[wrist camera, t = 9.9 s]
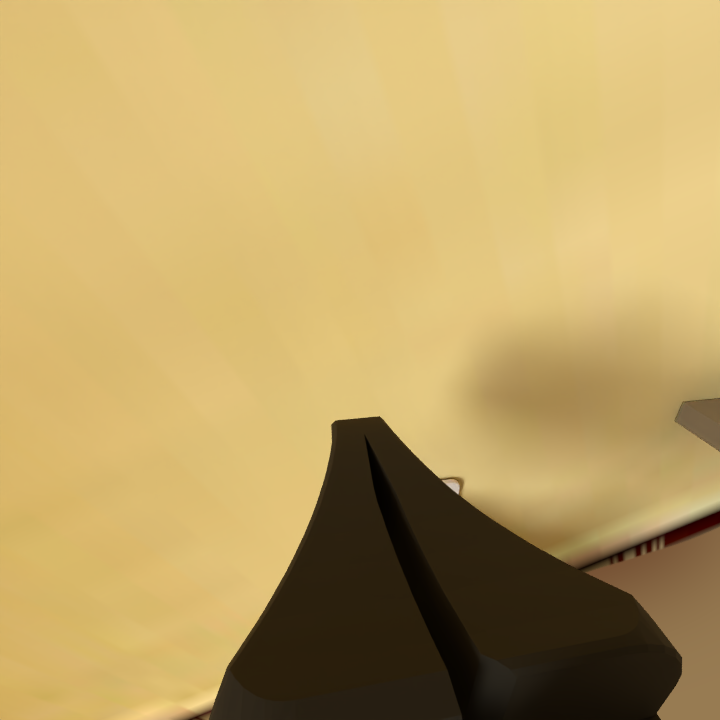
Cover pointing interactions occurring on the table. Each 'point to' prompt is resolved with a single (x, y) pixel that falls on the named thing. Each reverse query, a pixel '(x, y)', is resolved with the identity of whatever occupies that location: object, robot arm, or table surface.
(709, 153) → the table surface
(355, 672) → the robot arm
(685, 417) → the bay
